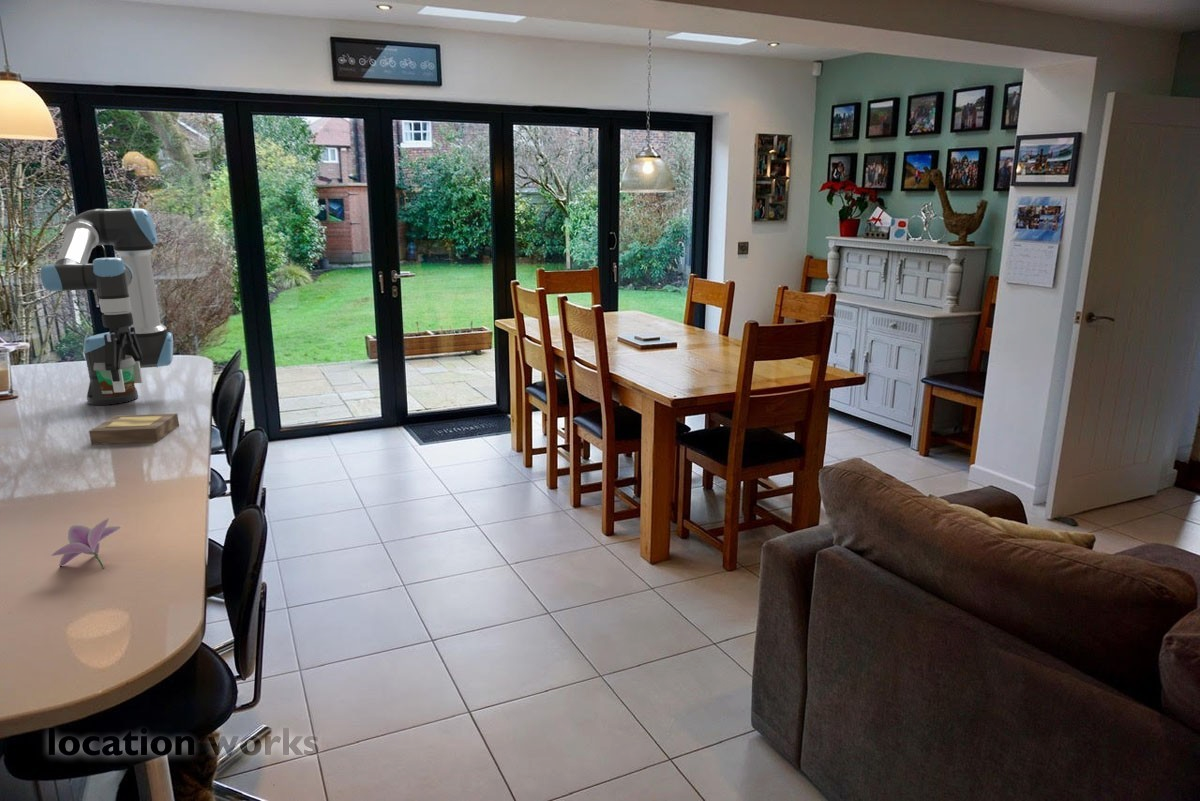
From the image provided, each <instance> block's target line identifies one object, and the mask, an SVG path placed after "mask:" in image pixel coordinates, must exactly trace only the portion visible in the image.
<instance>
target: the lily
mask: <svg viewBox="0 0 1200 801" xmlns="http://www.w3.org/2000/svg"><path fill="white" fill-rule="evenodd" d="M109 520H110V518H106V519H104V520H102V521H101V522H99V523H97V525H95V526H94V527H92V528H90V527H88V526H85V525H71V526H70V527H69V529H68V532H67V540H68V544H66V545H64V546H62V547H60V548H59V549H57V550H56V551H54V552H53V553H52V554H51V557H54V556H60V555H62V556H61V558H60V560H59V564H58V567H59V566H62V565H64V566H65V565H67V564H68V563H69V562H70V561H72V560H73V559H74V558H77V557H78V556H79V555H81V554H85V555H93V556H94V557H95V558H96V559H97V562H98V563H99V565H100V567H101V568H102V567H103V566H104V564H103V563H102V561H101V559H100V558H99V557H98V555H96V554H97V553H98V554H99V553H100V542H101V541H102V540H104V538H106V537H108V536H110V535H112V534H113V533H115V532H117V531H118V530H120V529H121V526H107V524H108V522H109ZM106 526H107V527H106ZM62 567H63V566H62Z"/></svg>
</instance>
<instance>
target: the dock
mask: <svg viewBox="0 0 1200 801" xmlns="http://www.w3.org/2000/svg"><path fill="white" fill-rule="evenodd" d="M178 416H179V414H178V413H150V414H148V413H147V414H128V415H127V414H124V415H120V414H119V415H113V416H112V417H110V418H109V419H107V420H105V421H103V422H102V423H100V424H98V425H97V426H95V427H94V428H91V429H90V430H89V431H88V434H89V438H90V444H91V445H103V444H102V443H114V444H129V443H128V442H138V443H155V442H157V441H158V442H159V441H161V440H162V439H163V438H165V437H166V436H167V435H169V434H170V433H172V432H173V431H174V430H176V429H177V428H178V427H179V426H180V422H179V417H178ZM176 427H177V428H176ZM175 428H176V429H175ZM160 439H161V440H160Z"/></svg>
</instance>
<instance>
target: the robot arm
mask: <svg viewBox="0 0 1200 801" xmlns="http://www.w3.org/2000/svg"><path fill="white" fill-rule="evenodd" d="M155 226H156V225H155V223H154V220H153V218H152V215H151V214H150V212H149V211H148V210H147V209H144V208H133V207H130V208H129V207H128V208H94V209H93V208H92V209H89V210H85V211H83V212H81V213H79V214H77V215H76V216H74V217H73V218H71V219H70V220H69V221H68V222H67V224H66V225H65V227H64V229H63V232H62V233H63V239H64V240H63V242H62V245H61V248H60V250H59V252H58V255H57V258H56V260H55V263H54V264H52V263H51V264H45V265H42V266H41V268H40V280H41V284H42V286H43V288H44V290H46V291H48V292H60V293H61V292H67V291H87V290H89V291H90V290H93V291H94V290H97V291H96V292H97V295H98V305H99V307H100V312H101V313H102V314H101V320H102V326H103V327H104V328H106V329H109V331H108V332H103V333H98V334H95V335H91V336H88V337H87V338H85V339H84V341H83V349H84V352H83V354H84V355H85V360H86V362H85V363H86V367H87V372H88V377H89V383H88V389H87V393H86V400H87V404H88V405H91V406H109V404H112V405H117V404H116V403H119V404H124V403H123V402H125V403H128V401H129V402H132V401H135V400H137V399H138V398H139V395H138V394H139V392H138V390H137V387H135V391H134V392H132V393H129V394H124V395H118V396H103V395H102V391H101V388H100V384H99V381H98V377H97V373H96V370H94V363H105V369H106V370H110V371H111V377H112V383H113V389H114V392H125V387H124V380H123V374H122V369H120V362H121V359H123V358H125V355H130V356H132V358H134V361H135V365H133V371H134V384H143V382H144V380H143V376H142V369H144V368H146V369H147V368H148V369H149V368H160V367H166V366H170V365H171V364H172V362H173V356H174V337H173V333H172V332H169V331H168V329H167V326H166V325H164V324H162V323H161V317H160V311H159V310H160V309H159V302H158V298H157V290H156V286H155V285H156V284H155V279H154V278H155V277H154V273H153V267H152V266H153V265H152V260H151V254H152V252H153V251H154V250H155V247H154V245H156V244H158V243H159V239H158V234H157V229H156V227H155ZM97 246H113V250H114V252H116V253H117V254H118V255H119V256H120V257H99V258H98V257H97V258H95V259H93V260H92V263H89V259H90V257H91V253H92V251H93V249H94V248H96V247H97ZM136 398H137V399H136ZM134 399H135V400H134ZM131 400H132V401H131Z"/></svg>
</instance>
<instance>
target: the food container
mask: <svg viewBox="0 0 1200 801" xmlns="http://www.w3.org/2000/svg"><path fill="white" fill-rule="evenodd" d="M133 365H135V361H134V358H132V356H130V355H125V358H123V359H121V362H120V369H122V374H123V380H124V387H125V392H114V389H113V383H112V377H111V371H110V370H106V369H105V363H94V370H96V373H97V377H98V381H99V384H100V388H101V391H102V395H103V396H118V395H124V394H129V393H132V392H134V391H135V388H136V386H135V385H136V384H135V383H134V371H133Z"/></svg>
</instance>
